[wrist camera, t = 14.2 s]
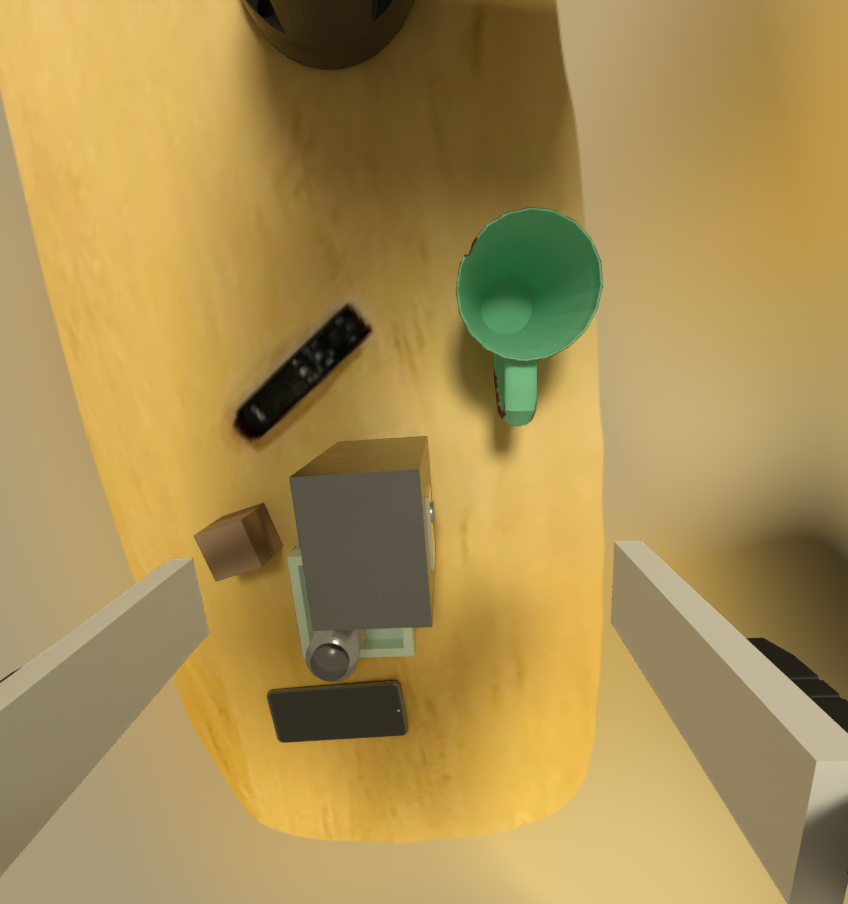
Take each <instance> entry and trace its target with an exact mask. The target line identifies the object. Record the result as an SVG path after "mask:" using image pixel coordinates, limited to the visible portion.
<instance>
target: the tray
mask: <svg viewBox="0 0 848 904" xmlns="http://www.w3.org/2000/svg"><path fill="white" fill-rule="evenodd" d="M287 562H288V568H289V574H290V580H291V586H292V593H293V599H294V605H295V611H296V618H297V624H298V630H299V636H300V642H301V649H302V655H303V660H306V659H305V656H306V651H307V648H308V646H309V644H310V642H311V640H312V638H313V636H314V634H315V632H316V631H313V630H312V623H311V617H310V610H309V604H308V597H307V591H306V584H305V577H304V571H303V564H302V558H301V551H300V546H295V548H294V549H293V550H292V551H291V552H290V554H289V555H288V556H287ZM415 644H416V636H415V628H387V629H367V630H366V633H365V637H364V640H363V644H362V647H361V651H360V654H359V657H358V658H372V657H403V656H414V653H415Z"/></svg>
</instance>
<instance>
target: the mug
mask: <svg viewBox="0 0 848 904" xmlns="http://www.w3.org/2000/svg"><path fill="white" fill-rule="evenodd" d="M602 287H603V279H602V267H601V260H600V257H599V255H598V252H597V250H596V248H595V245H594V243H593V240H592V238H591V237H590V236H589V235H588V234H587V233H586V232H585V231H584V229H583V228H582V227H581V226H580V225H579V224H578V223H577V222H576V221H575V220H573V219H571V218H569V217H567V216H565V215H564V214H562V213H560V212H558V211H556V210H551V209H544V208H536V207H529V208H524V209H519V210H514V211H510V212H507V213H505V214H503V215H502V216H500V217H498V218H497V219H495V220H493V221H492V222H490V223H488V224H487V225H486V226H485V227H484V228H483V229H482V231H481V232H480V233H479V234H478V235H477V237H476V238H475V240H474V241H473V243H472V246H471V249H470V252H469V254H468V255H466V254H465V255H464V257H463V259H462V261H461V263H460V266H459V272H458V279H457V286H456V296H457V302H458V309H459V314H460V316H461V318H462V320H463V322H464V324H465V327H466V329H467V331H468V333H469V334H470V335H471V336H472V337H473V338H474V339H475V340H476V341H477V342H478V343H479V344H480V345H481V346H482V347H483V348H484V349H485V350H487V351H489V352H491V353H493V359H494V382H495V391H496V400H497V409H498V413H499V415H500V417H501V418H502V420H504V421H505V422H507V423H508V424H510V425H513V426H521V425H526V424H528V423H529V422H530V421H531V420H532V419H533V416H534V414H535V411H536V402H537V360H539V359H544V358H549V357H551V356H553V355H555V354H556V353H558V352H560V351H562V350H564V349H566V348H568V347H569V346H570V345H571V344H572V343H573V342H574V341H575V340H576V339H578V338H579V337H580V336H581V335H582V334H583V333H584V332H585V331H586V329H587V327H588V326H589V324H590V322H591V320H592V318H593V317H594V315H595V313H596V311H597V309H598V305H599V301H600V296H601V292H602Z"/></svg>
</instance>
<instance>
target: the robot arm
mask: <svg viewBox="0 0 848 904" xmlns="http://www.w3.org/2000/svg"><path fill="white" fill-rule="evenodd" d="M242 1H243V3H244V5H245V7H246V9H247V10H248V12H249V14H250V16H251V18H252V19H253V21H254V23H255V24H256V26H257V27H258V29H259V30H260V31H261V33H262V34H263V35H264V36H265V38H266V39H267V40H268V41H269V42H270V43H271V44H272V45H273V46H274V47H275V48H277V49H278V50H279V51H280V52H282V53H283V54H285V55H286V56H288V57H289V58H291V59H293V60H295V61H297V62H299V63H302V64H304V65H307V66H311V67H316V68H323V69H336V68H344V67H348V66H352V65H355V64H357V63H360V62H362V61H364V60H366V59H368V58H370V57H371V56H373V55H374V54H376V53H377V52H378V51H380V50H381V49H382V48H383V47H384V46H385V45H387V44H388V43H389V42H390V40H391V39H392V38H393V37H394V36H395V35H396V33H397V32H398V31H399V29H400V28H401V26H402V25H403V23H404V21H405V20H406V18H407V16H408V14H409V12H410V10H411V8H412V5H413V3H414V0H242ZM611 623H612V625H613V626H614V628H615V629H616V631H617V633H618V634H619V636H620V638H621V639H622V641H623V642H624V644H625V646H626V647H627V649H628V650H629V652H630V653H631V655H632V657H633V658H634V660H635V662H636V663H637V665H638V666H639V668H640V669H641V671H642V673H643V674H644V676H645V677H646V679H647V681H648V682H649V684H650V685H651V687H652V689H653V690H654V691H655V693H656V695H657V696H658V698H659V699H660V701H661V703H662V705H663V706H664V708H665V709H666V711H667V713H668V714H669V716H670V717H671V719H672V720H673V722H674V724H675V725H676V727H677V729H678V730H679V732H680V733H681V735H682V736H683V738H684V740H685V741H686V742H687V744H688V746H689V748H690V749H691V751H692V752H693V754H694V756H695V757H696V759H697V760H698V762H699V764H700V765H701V767H702V768H703V770H704V771H705V773H706V775H707V776H708V778H709V779H710V781H711V783H712V784H713V786H714V787H715V789H716V791H717V792H718V794H719V795H720V797H721V799H722V800H723V802H724V803H725V805H726V807H727V808H728V810H729V811H730V813H731V815H732V816H733V818H734V819H735V821H736V822H737V824H738V826H739V827H740V829H741V830H742V832H743V834H744V835H745V837H746V839H747V840H748V842H749V843H750V845H751V846H752V848H753V850H754V851H755V853H756V855H757V856H758V858H759V859H760V861H761V862H762V864H763V866H764V867H765V869H766V870H767V872H768V874H769V875H770V877H771V878H772V880H773V881H774V883H775V885H776V886H777V888H778V890H779V891H780V893H781V894H782V896H783V897H784V899H785V901H786V902H787V904H843V901H844V897H845V892H846V888H847V884H848V701H847V700H845V699H841V698H840V696H839V693H837V692H836V691H835V690H834V689H833V688H831V687H830V686H829V685H828V684H827V683H826V682H824V681H823V680H819V678H818V676H817V675H816V674H815V673H814V672H813V671H812V670H810V669H809V668H808V667H807V666H806V665H805V664H803V663H802V662H801V661H800V660H799V659H797V658H796V657H795V656H794V655H793V654H791V653H789V652H787V651H785V650H784V649H782V648H780V647H778V646H776V645H775V644H773V643H771V642H769V641H768V640H766V639H764V638H745V637H744V636H743V635H742V634H741V633H739V632H738V631H737V630H736V629H735V628H734V627H733V626H732V625H731V624H730V623H729V622H728V621H727V620H726V619H725V618H723V617H722V616H721V615H720V614H719V613H718V612H717V611H716V610H715V609H714V608H713V607H712V606H711V605H709V604H708V603H707V602H706V601H705V600H704V599H703V598H702V597H701V596H700V595H699V594H698V593H697V592H696V591H695V590H693V589H692V588H691V587H690V586H689V585H688V584H687V583H686V582H685V581H684V580H683V579H681V577H680V576H678V575H677V574H676V573H675V572H674V571H673V570H672V569H671V568H670V567H669V566H668V565H667V564H666V563H665V562H663V561H662V560H661V559H660V558H659V557H658V556H657V555H656V554H655V553H654V552H653V551H651V549H649V548H648V547H647V546H646V545H645V544H644V543H643V542H642V541H641V540H640V541H615V542H614V562H613V586H612V609H611ZM208 634H209V629H208V625H207V620H206V616H205V611H204V607H203V602H202V598H201V593H200V589H199V584H198V580H197V575H196V571H195V566H194V562H193V558H182V559H169V560H168V561H166V562H165V563H164V564H162V565H161V566H160V567H158V568H157V569H156V570H154V571H153V572H151V573H150V574H149V575H147V576H146V577H145V578H143V579H142V580H141V581H139V582H138V583H136V584H135V585H134V586H132V587H131V588H130V589H128V590H127V591H126V592H124V593H123V594H121V595H120V596H119V597H117V598H116V599H115V600H113V601H112V602H110V603H109V604H108V605H107V606H105V607H104V608H103V609H101V610H100V611H98V612H97V613H96V614H94V615H93V616H91V617H90V618H89V619H87V620H86V621H85V622H83V623H82V624H81V625H79V626H78V627H76V628H75V629H74V630H72V631H71V632H70V633H68V634H67V635H66V636H64V637H63V638H61V639H60V640H59V641H57V642H56V643H55V644H53V645H52V646H50V647H49V648H48V649H46V650H45V651H44V652H42V653H41V654H40V655H38V656H37V657H35V658H34V659H33V660H31V661H30V662H29V663H27V664H26V665H24V666H23V667H21V668H19V669H18V670H16V671H14V672H12V673H11V674H9V675H8V676H7V677H5V678H4V679H2V680H1V681H0V877H1V876H2V874H3V873H4V872H5V871H6V870H7V869H8V867H9V866H10V865H11V864H12V863H13V862H14V860H15V859H16V858H17V857H18V856H19V855H20V853H21V852H22V851H23V850H24V849H25V848H26V846H27V845H28V844H29V843H30V842H31V841H32V839H33V838H34V837H35V836H36V835H37V834H38V832H39V831H40V830H41V829H42V828H43V827H44V825H45V824H46V823H47V822H48V821H49V820H50V818H51V817H52V816H53V815H54V814H55V813H56V811H57V810H58V809H59V808H60V806H62V804H63V803H64V802H65V801H66V800H67V799H68V797H69V796H70V795H71V794H72V793H73V792H74V790H75V789H76V788H77V787H78V786H79V784H80V783H81V782H82V781H83V780H84V779H85V778H86V776H87V775H88V774H89V773H90V772H91V770H92V769H93V768H94V767H95V766H96V765H97V763H98V762H99V761H100V760H101V759H102V758H103V756H104V755H105V754H106V753H107V752H108V751H109V749H110V748H111V747H112V746H113V745H114V744H115V742H116V741H117V740H118V739H119V738H120V737H121V735H122V734H123V733H124V732H125V731H126V730H127V728H128V727H129V726H130V725H131V724H132V723H133V721H134V720H135V719H136V718H137V717H138V716H139V714H140V713H141V712H142V711H143V710H144V708H145V707H146V706H147V705H148V704H149V703H150V702H151V700H152V699H153V698H154V697H155V696H156V694H157V693H158V692H159V691H160V690H161V689H162V688H163V686H164V685H165V684H166V683H167V682H168V680H169V679H170V678H171V677H172V676H173V675H174V674H175V672H176V671H177V670H178V669H179V668H180V666H181V665H182V664H183V663H184V662H185V661H186V659H187V658H188V657H189V656H190V655H191V654H192V652H193V651H194V650H195V649H196V648H197V647H198V645H199V644H200V643H201V642H202V641H203V640H204V638H205V637H206V636H207V635H208Z"/></svg>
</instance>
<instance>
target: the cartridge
mask: <svg viewBox="0 0 848 904" xmlns="http://www.w3.org/2000/svg"><path fill="white" fill-rule="evenodd" d="M366 630H367V629H360V630H332V631H316V632H315V634H314V636H313V638H312V640H311V642H310V644H309V646H308V648H307V651H306V656H305V659H306V664H307V666H308V668H309V670H310V671H311V672H312V673H313V674H314V675H315V676H317V677H318V678H320V679H322V680H325V681H330V682H336V681H341V680H344V679H346V678H348V677H349V676H350V675H351V674H352V673H353V672H354V670H355V668H356V664H357V661H358V657H359V654H360V651H361V647H362V644H363V640H364V637H365V633H366Z"/></svg>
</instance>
